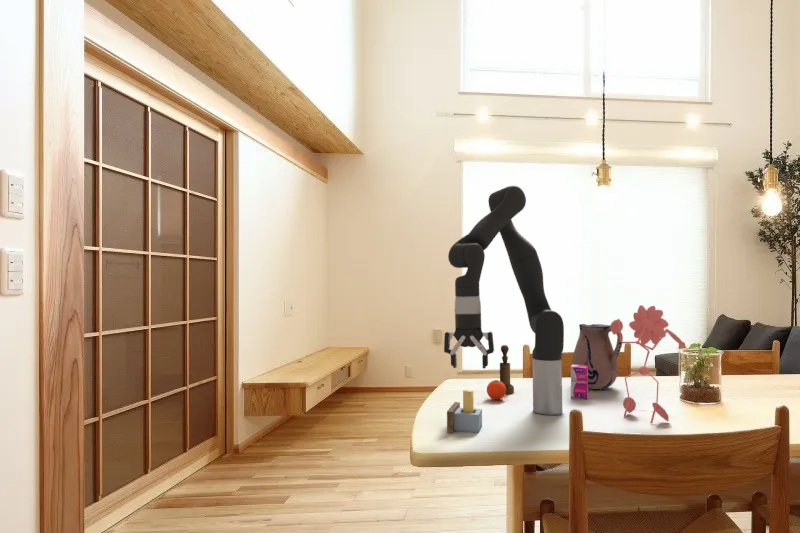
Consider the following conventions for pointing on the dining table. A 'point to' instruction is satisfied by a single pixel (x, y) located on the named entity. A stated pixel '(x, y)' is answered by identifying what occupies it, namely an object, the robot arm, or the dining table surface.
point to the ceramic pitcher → (597, 355)
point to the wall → (451, 417)
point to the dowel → (468, 401)
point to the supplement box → (579, 381)
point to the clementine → (496, 390)
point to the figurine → (646, 329)
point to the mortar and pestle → (505, 371)
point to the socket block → (468, 420)
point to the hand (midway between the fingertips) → (469, 367)
